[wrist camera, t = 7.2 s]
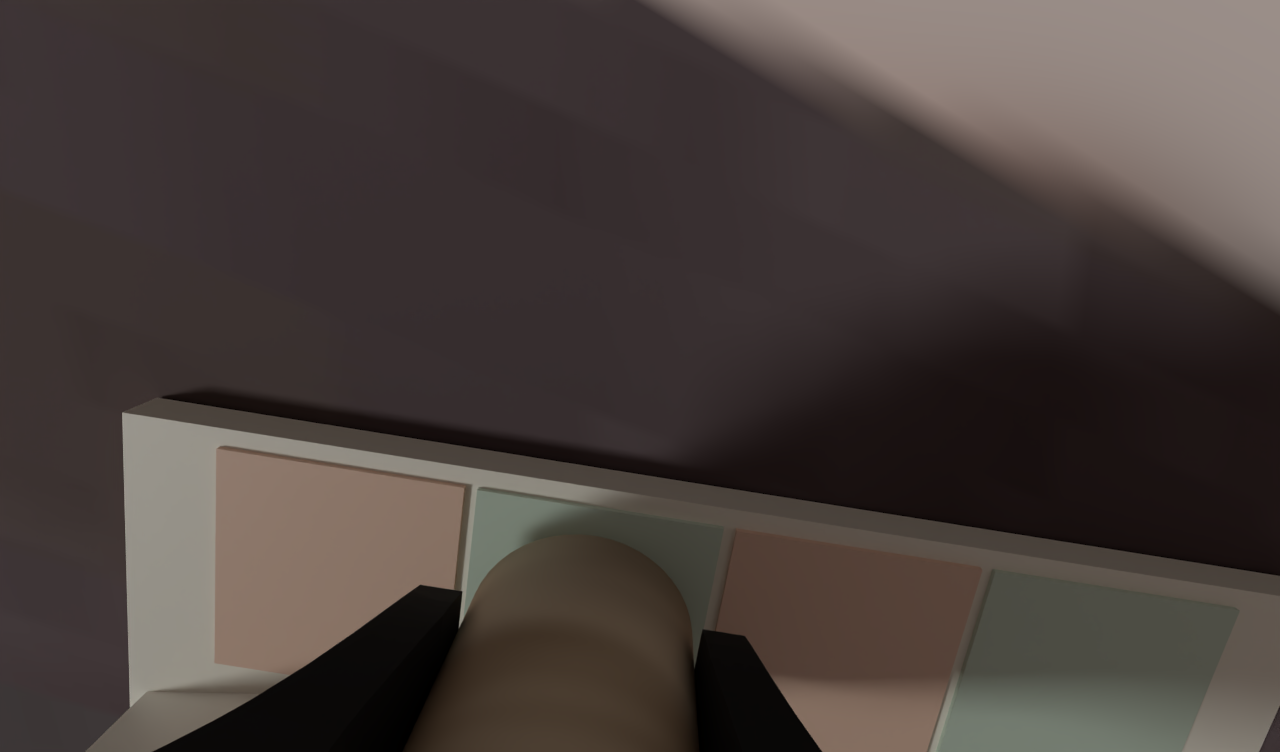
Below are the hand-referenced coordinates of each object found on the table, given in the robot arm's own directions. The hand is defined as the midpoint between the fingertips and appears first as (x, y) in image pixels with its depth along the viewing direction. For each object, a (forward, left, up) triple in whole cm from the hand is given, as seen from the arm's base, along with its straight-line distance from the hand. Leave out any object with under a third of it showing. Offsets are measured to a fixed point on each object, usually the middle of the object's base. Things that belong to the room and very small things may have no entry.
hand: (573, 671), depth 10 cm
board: (-2, -2, -2) cm, 4 cm away
